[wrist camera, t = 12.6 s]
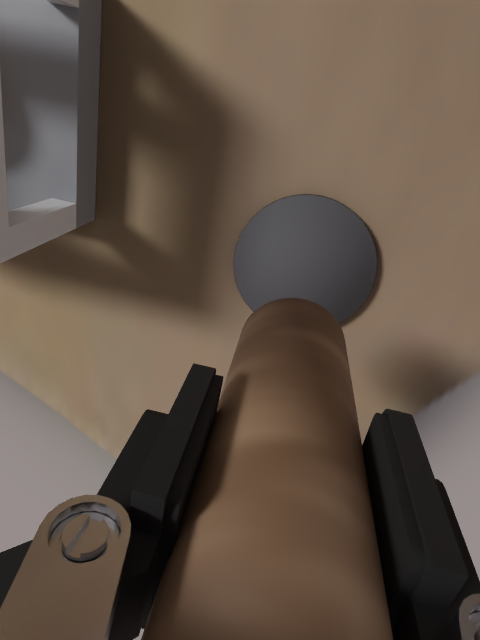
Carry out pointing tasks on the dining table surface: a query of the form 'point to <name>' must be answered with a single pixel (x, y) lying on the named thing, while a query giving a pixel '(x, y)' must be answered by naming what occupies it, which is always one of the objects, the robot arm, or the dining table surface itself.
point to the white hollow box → (47, 119)
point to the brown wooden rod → (279, 499)
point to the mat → (306, 255)
